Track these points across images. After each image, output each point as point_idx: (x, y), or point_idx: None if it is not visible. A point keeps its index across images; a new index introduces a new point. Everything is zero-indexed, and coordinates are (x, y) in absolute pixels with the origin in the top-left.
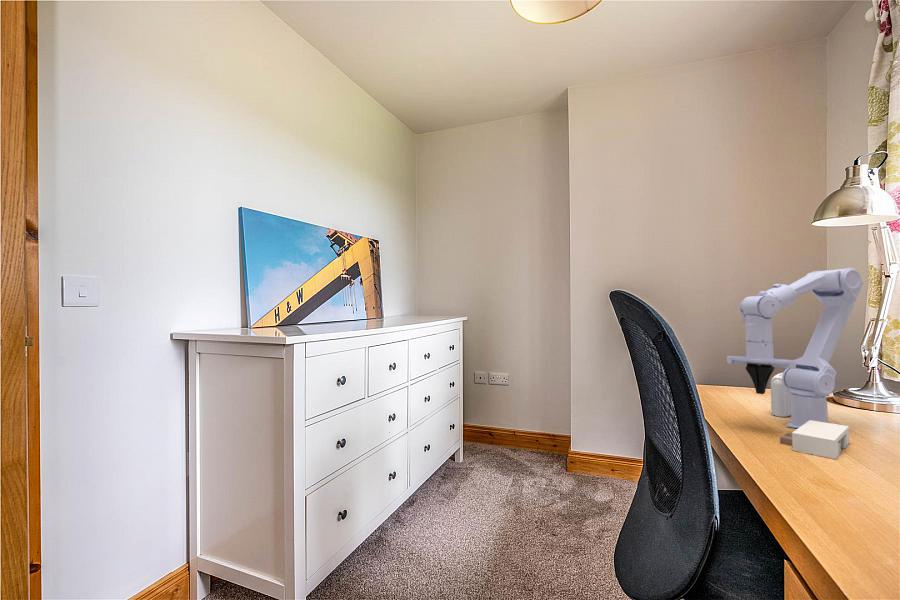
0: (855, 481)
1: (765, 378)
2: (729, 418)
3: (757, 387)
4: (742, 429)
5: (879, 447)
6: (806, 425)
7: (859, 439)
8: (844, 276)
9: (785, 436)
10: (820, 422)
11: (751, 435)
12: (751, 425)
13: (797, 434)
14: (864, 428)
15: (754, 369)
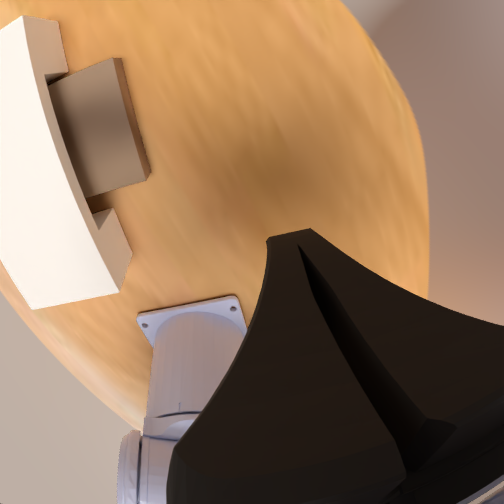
0: None
1: (240, 347)
2: (401, 239)
3: (315, 251)
4: (314, 122)
5: (20, 295)
6: (61, 194)
7: (76, 326)
8: None
9: (105, 85)
10: (83, 289)
11: (244, 60)
12: (319, 214)
13: (8, 25)
14: (145, 404)
15: (441, 400)
